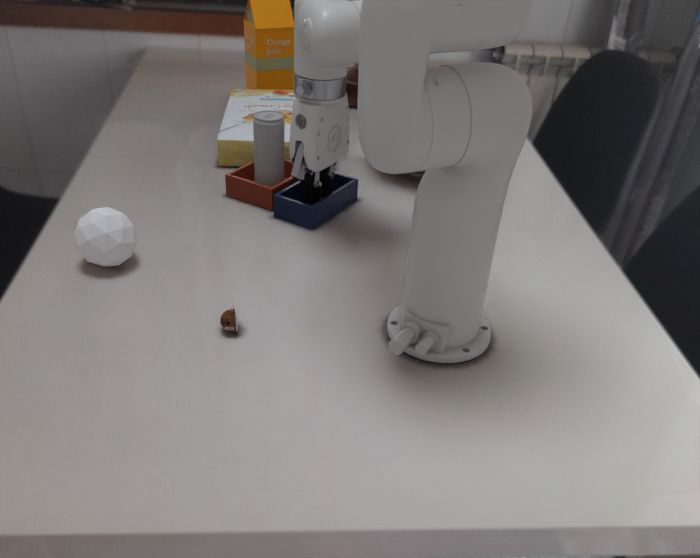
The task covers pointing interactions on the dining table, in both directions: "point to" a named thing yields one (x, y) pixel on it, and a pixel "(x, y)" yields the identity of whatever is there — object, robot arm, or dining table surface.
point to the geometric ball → (105, 237)
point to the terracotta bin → (256, 185)
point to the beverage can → (269, 147)
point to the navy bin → (311, 216)
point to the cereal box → (250, 123)
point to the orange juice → (269, 45)
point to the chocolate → (229, 320)
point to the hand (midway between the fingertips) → (316, 203)
